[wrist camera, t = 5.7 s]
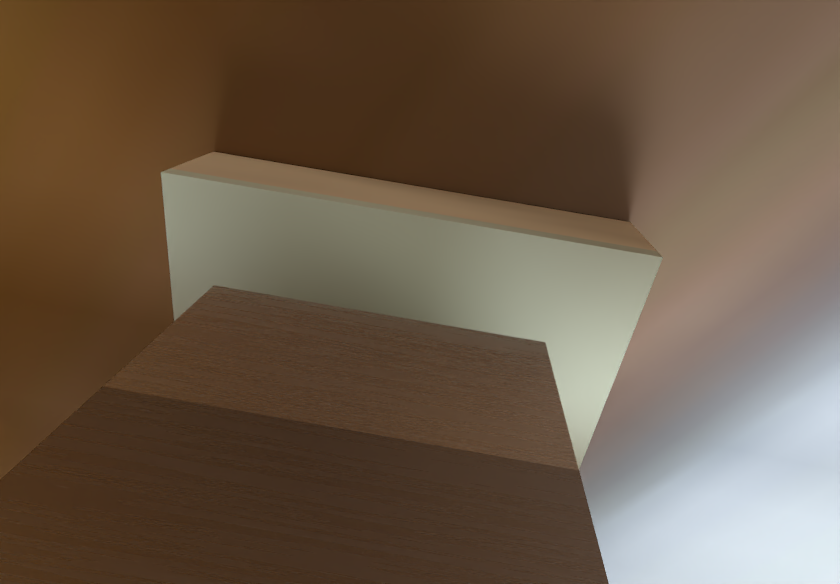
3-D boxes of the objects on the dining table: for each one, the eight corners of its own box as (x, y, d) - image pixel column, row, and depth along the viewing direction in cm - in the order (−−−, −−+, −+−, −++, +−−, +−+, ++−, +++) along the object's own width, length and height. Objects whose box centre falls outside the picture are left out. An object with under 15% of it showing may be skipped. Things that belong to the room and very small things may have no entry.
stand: (527, 514, 14) (535, 579, 13) (225, 459, 15) (191, 516, 13) (629, 222, 10) (663, 257, 9) (213, 151, 11) (160, 171, 9)
